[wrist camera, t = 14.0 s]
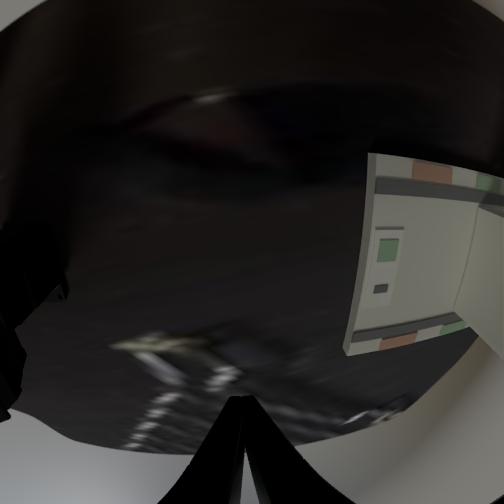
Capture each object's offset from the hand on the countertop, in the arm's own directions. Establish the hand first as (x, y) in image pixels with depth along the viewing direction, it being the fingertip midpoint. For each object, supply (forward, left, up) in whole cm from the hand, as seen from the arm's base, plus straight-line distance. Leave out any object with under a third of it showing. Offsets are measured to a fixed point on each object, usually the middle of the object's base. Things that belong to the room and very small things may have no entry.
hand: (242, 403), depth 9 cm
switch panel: (+17, 0, -11) cm, 21 cm away
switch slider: (+22, 0, -10) cm, 24 cm away
